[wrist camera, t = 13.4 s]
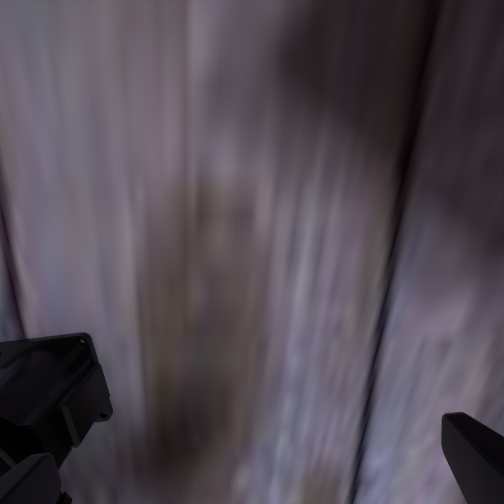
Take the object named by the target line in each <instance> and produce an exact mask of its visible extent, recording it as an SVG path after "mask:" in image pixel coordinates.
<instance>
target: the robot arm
mask: <svg viewBox="0 0 504 504" xmlns="http://www.w3.org/2000/svg"><path fill="white" fill-rule="evenodd" d="M80 339H82V340H84V342H85V343H82V342H81V341H80ZM0 351H1V352H0V504H71V503H72V498H71V497H70V496H69V495H68V494H67V493H66V492H62V491H61V490H60V489H61V477H60V474H59V472H58V470H59V468H60V467H61V465H62V464H63V462H64V460H65V459H66V457H67V456H68V454H69V453H70V451H71V449H72V448H77V447H78V446H79V445H80V444H81V442H82V441H83V439H84V438H85V436H86V434H87V433H88V431H89V429H90V428H91V426H92V425H93V423H94V422H102V421H107V420H109V419H110V417H111V415H112V413H113V409H112V406H111V402H110V399H109V397H110V394H109V391H108V387H107V384H106V381H105V377H104V374H103V370H102V367H101V365H100V364H99V362H98V359H97V355H96V352H95V349H94V345H93V342H92V339H91V337H90V335H88V334H87V333H74V334H66V335H58V336H49V337H41V338H33V339H25V340H17V341H9V342H0ZM103 412H105V413H106V414H104V413H103ZM441 445H442V449H443V453H444V455H445V458H446V460H447V462H448V464H449V466H450V468H451V470H452V472H453V475H454V477H455V479H456V481H457V483H458V485H459V487H460V489H461V492H462V494H463V496H464V498H465V500H466V502H467V504H504V436H502V435H500V434H499V433H497V432H495V431H494V430H492V429H490V428H489V427H487V426H486V425H484V424H482V423H481V422H479V421H477V420H476V419H474V418H472V417H471V416H469V415H467V414H465V413H463V412H454V413H446V414H444V415H443V416H442V433H441Z"/></svg>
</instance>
